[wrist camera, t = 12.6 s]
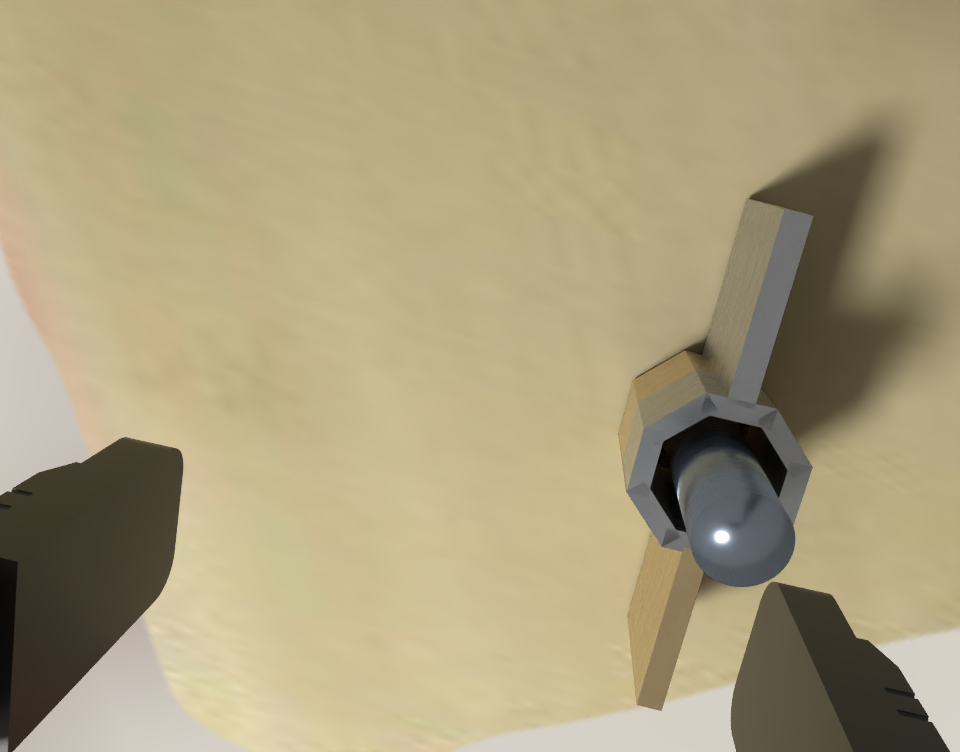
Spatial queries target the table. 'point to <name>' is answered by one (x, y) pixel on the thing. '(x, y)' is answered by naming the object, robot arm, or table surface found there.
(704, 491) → the pin
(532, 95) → the table surface
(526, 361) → the table surface
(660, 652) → the hinge
